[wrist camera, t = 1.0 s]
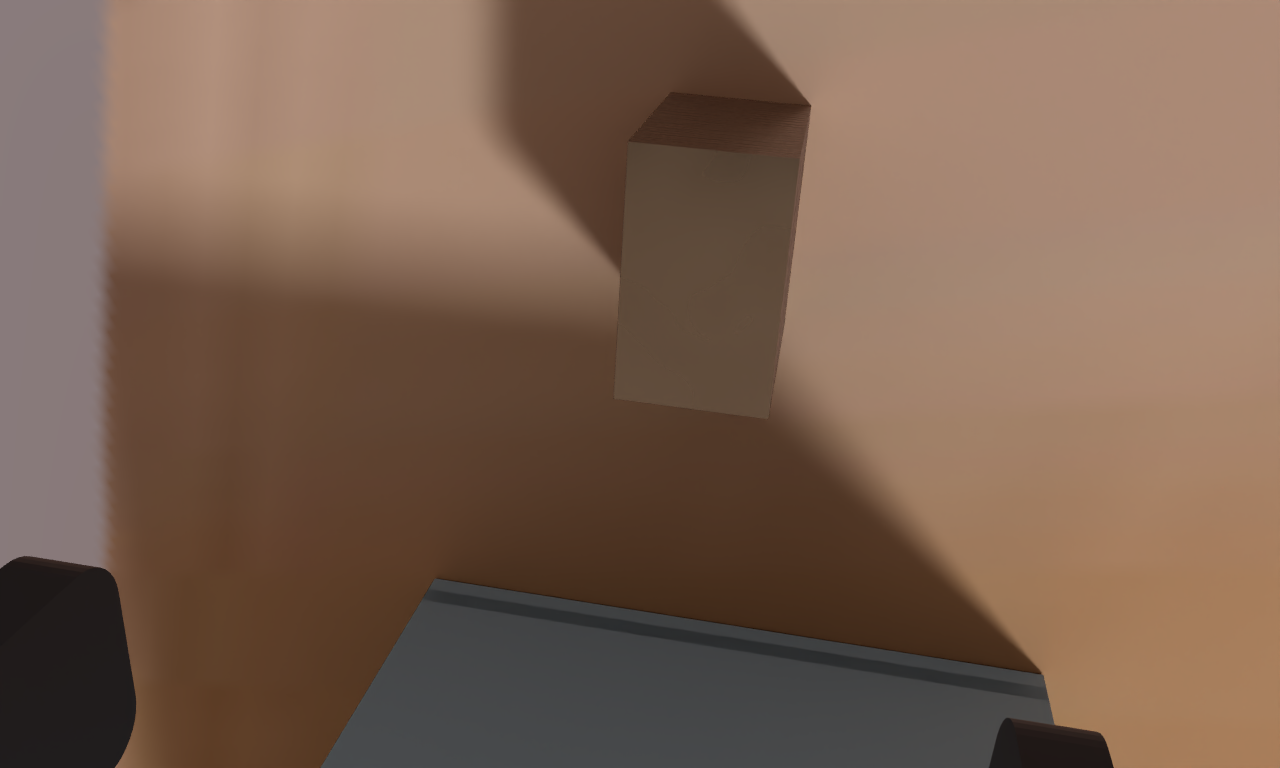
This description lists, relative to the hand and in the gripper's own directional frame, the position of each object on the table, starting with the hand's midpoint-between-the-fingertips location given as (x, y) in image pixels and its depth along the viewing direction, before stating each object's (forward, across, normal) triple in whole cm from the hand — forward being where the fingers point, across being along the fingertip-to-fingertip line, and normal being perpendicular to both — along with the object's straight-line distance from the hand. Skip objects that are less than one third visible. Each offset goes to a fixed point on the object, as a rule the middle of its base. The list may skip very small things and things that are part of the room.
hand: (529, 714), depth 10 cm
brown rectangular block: (+17, 0, 0) cm, 17 cm away
